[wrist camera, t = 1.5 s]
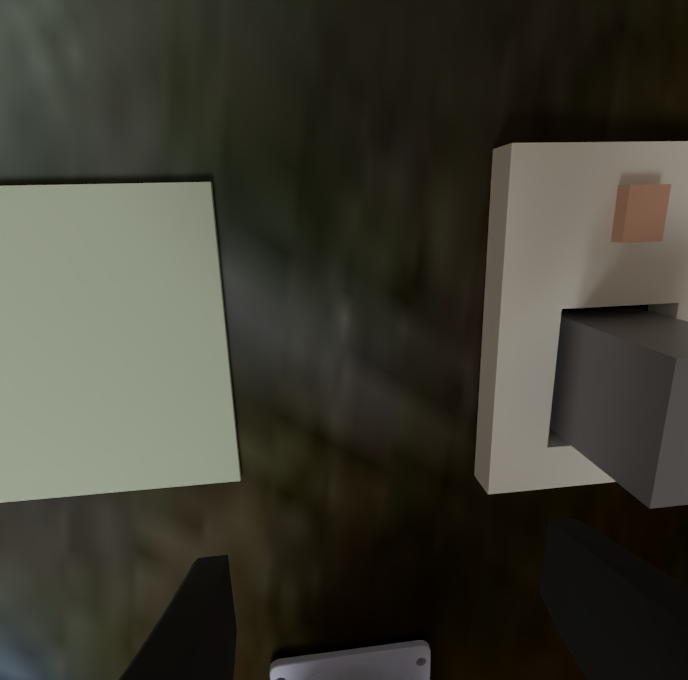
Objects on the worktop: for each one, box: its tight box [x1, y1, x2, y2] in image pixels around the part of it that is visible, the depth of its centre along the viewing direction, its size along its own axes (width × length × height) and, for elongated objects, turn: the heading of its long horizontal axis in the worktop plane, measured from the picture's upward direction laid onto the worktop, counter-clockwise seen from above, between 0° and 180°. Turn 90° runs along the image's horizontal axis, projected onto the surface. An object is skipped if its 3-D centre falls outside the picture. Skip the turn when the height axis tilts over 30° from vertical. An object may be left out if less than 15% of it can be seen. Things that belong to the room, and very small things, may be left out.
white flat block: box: [474, 141, 688, 494], centre depth 18 cm, size 14×10×2 cm
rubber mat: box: [0, 182, 241, 503], centre depth 17 cm, size 12×11×1 cm
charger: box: [549, 308, 688, 508], centre depth 17 cm, size 5×4×6 cm
